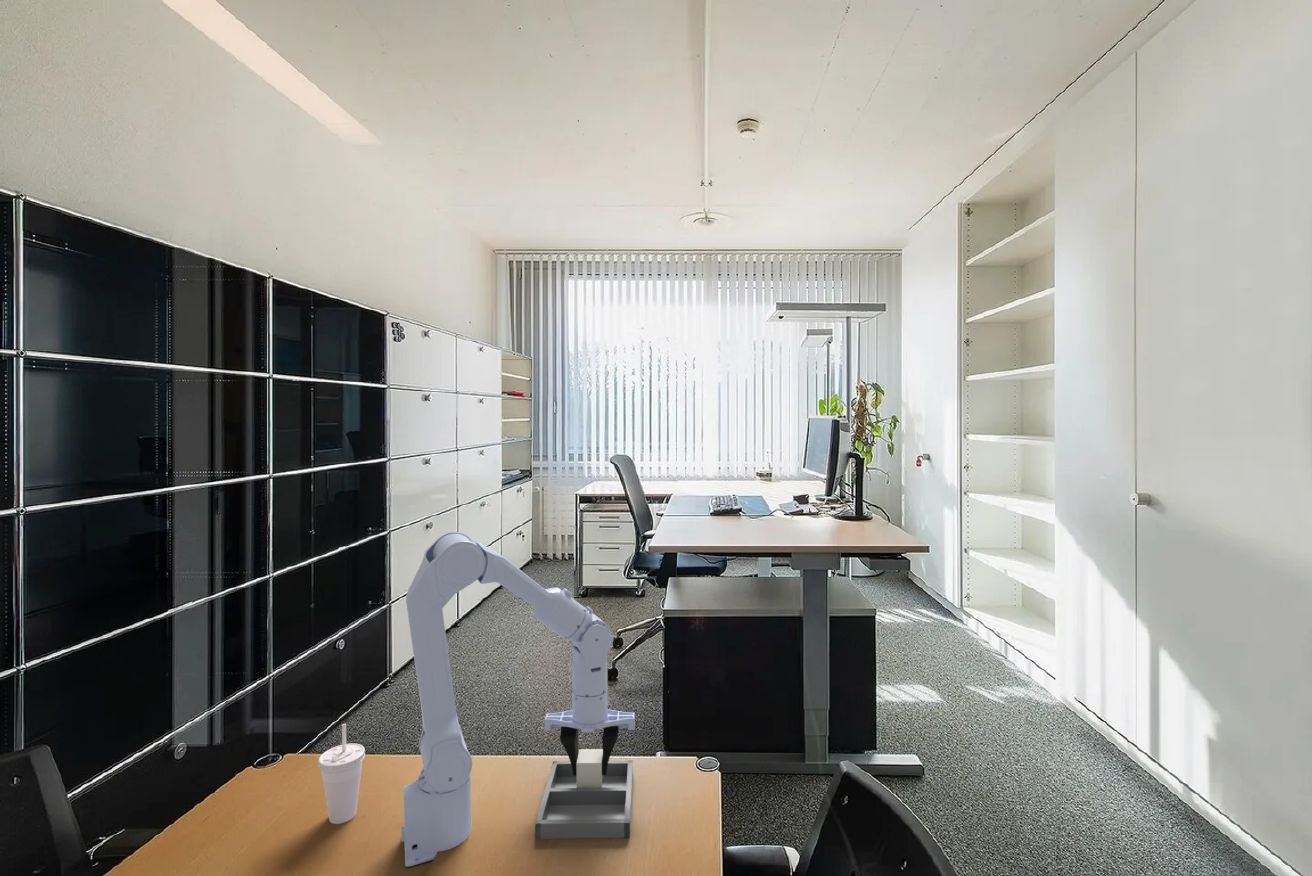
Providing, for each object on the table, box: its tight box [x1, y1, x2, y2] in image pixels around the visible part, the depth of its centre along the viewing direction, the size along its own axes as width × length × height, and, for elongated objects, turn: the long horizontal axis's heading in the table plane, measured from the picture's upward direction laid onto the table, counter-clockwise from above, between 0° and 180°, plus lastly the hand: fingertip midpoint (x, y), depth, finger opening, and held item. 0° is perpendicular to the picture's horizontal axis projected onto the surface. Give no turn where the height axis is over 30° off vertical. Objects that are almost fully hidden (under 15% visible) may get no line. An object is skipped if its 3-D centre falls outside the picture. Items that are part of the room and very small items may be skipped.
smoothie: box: [317, 723, 366, 825], centre depth 90 cm, size 6×6×14 cm
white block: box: [576, 748, 603, 788], centre depth 95 cm, size 4×4×4 cm
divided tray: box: [534, 760, 634, 840], centre depth 91 cm, size 14×16×3 cm
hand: (590, 771), depth 95 cm, fingers open, 4 cm apart
